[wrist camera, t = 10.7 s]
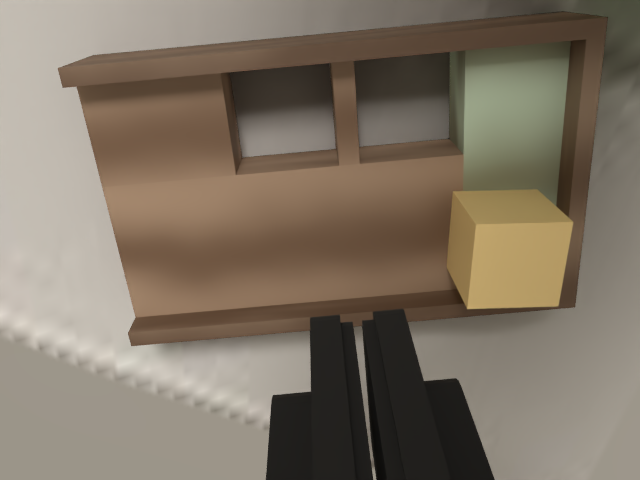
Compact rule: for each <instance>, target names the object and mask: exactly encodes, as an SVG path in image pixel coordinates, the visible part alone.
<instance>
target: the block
mask: <svg viewBox="0 0 640 480" xmlns="http://www.w3.org/2000/svg"><path fill="white" fill-rule="evenodd" d="M572 227H573V221H572V220H571V219H570V218H569V217H567V216H566V215H565V214H564V213H563V212H562V211H561V210H560V209H559V208H557V207H556V206H555V205H554V204H553V203H552V202H551V201H550V200H549V199H547V198H546V197H545V196H544V195H543V194H542V193H541V192H540V191H539V190H537V189H531V190H491V191H453V195H452V207H451V219H450V232H449V244H448V256H447V269H448V271H449V273H450V275H451V277H452V279H453V281H454V283H455V285H456V287H457V289H458V291H459V293H460V295H461V297H462V299H463V301H464V303H465V305H466V307H467V309H487V308H522V307H557V306H559V300H560V295H561V289H562V283H563V278H564V272H565V267H566V261H567V255H568V250H569V244H570V239H571V233H572Z"/></svg>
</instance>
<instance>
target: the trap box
mask: <svg viewBox="0 0 640 480" xmlns="http://www.w3.org/2000/svg"><path fill="white" fill-rule="evenodd" d="M607 20H608V17H603V16H595V15H587V14H579V13H571V12H552V13H542V14H531V15H520V16H509V17H499V18H488V19H477V20H467V21H456V22H445V23H434V24H424V25H413V26H402V27H391V28H381V29H370V30H359V31H348V32H338V33H327V34H316V35H306V36H295V37H284V38H273V39H263V40H252V41H241V42H230V43H220V44H209V45H198V46H187V47H177V48H166V49H155V50H144V51H134V52H123V53H112V54H102V55H93V56H90V57H87V58H84V59H82V60H79V61H76V62H74V63H71V64H68V65H65V66H63V67H60V68H58V71H59V75H60V79H61V83H62V86H63V88H65V87H76V86H77V90H78V93H79V97H80V101H81V105H82V109H83V113H84V117H85V121H86V125H87V129H88V133H89V137H90V140H91V144H92V148H93V152H94V156H95V160H96V164H97V168H98V172H99V176H100V180H101V183H102V187H103V191H104V195H105V199H106V203H107V207H108V211H109V215H110V219H111V223H112V227H113V230H114V234H115V238H116V242H117V246H118V250H119V254H120V258H121V262H122V266H123V270H124V273H125V277H126V281H127V285H128V289H129V293H130V297H131V301H132V305H133V309H134V313H135V317H136V318H135V320H134V322H133V324H132V326H131V328H130V330H129V332H128V335H129V339H130V342H131V346H137V345H149V344H160V343H172V342H183V341H195V340H206V339H217V338H229V337H240V336H252V335H263V334H275V333H286V332H297V331H309V330H310V317H319V316H330V315H340V322H353V327H355V326H362V320H373V311H382V310H393V309H404V312H405V315H406V319H407V322H412V321H423V320H435V319H446V318H458V317H469V316H480V315H492V314H503V313H515V312H526V311H538V310H549V309H560V308H572V307H575V303H576V294H577V285H578V276H579V268H580V259H581V250H582V241H583V232H584V223H585V215H586V206H587V197H588V188H589V179H590V170H591V162H592V153H593V144H594V135H595V126H596V118H597V109H598V100H599V91H600V82H601V73H602V65H603V56H604V47H605V38H606V29H607ZM443 52H450V107H449V139H441V140H430V141H419V142H408V143H397V144H386V145H375V146H364V147H359V139H358V123H357V106H356V89H355V72H354V61H357V60H368V59H379V58H389V57H400V56H411V55H422V54H433V53H443ZM325 63H330V77H331V90H332V103H333V116H334V129H335V142H336V149H331V150H320V151H309V152H298V153H287V154H276V155H265V156H254V157H243V158H242V154H241V147H240V140H239V134H238V127H237V120H236V113H235V106H234V99H233V93H232V86H231V79H230V72H238V71H249V70H260V69H271V68H281V67H292V66H303V65H314V64H325ZM531 189H537V190H539V191H540V192H541V193H542V194H543V195H544V196H545V197H546V198H547V199H549V200H550V201H551V202H552V203H553V204H554V205H555V206H556V207H557V208H559V209H560V210H561V211H562V212H563V213H564V214H565V215H566V216H567V217H569V218H570V219H571V220H572V221H573V227H572V233H571V239H570V244H569V250H568V255H567V261H566V267H565V272H564V278H563V283H562V289H561V295H560V300H559V306H557V307H522V308H487V309H467V307H466V305H465V303H464V301H463V299H462V297H461V295H460V293H459V291H458V289H457V287H456V285H455V283H454V281H453V279H452V277H451V275H450V273H449V271H448V269H447V256H448V244H449V232H450V219H451V207H452V195H453V191H491V190H531Z"/></svg>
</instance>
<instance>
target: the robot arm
mask: <svg viewBox="0 0 640 480" xmlns="http://www.w3.org/2000/svg"><path fill="white" fill-rule="evenodd" d="M362 329H363V342H364V355H365V368H366V380H367V393H368V406H369V419H370V432H371V442H372V450H373V457H374V465H375V472H376V479H377V480H494V477H493V474H492V471H491V468H490V466H489V463H488V460H487V457H486V454H485V452H484V449H483V446H482V443H481V440H480V438H479V435H478V432H477V429H476V427H475V424H474V421H473V418H472V415H471V413H470V410H469V407H468V404H467V401H466V399H465V396H464V393H463V390H462V387H461V385H460V383H459V381H458V380H457V379H456V378H455V379H444V380H433V381H424V380H423V377H422V373H421V370H420V366H419V362H418V359H417V355H416V351H415V348H414V344H413V341H412V337H411V333H410V330H409V326H408V322H407V319H406V315H405V312H404V309H393V310H382V311H373V320H362ZM310 353H311V392H303V393H293V394H282V395H273V397H272V404H271V416H270V430H269V445H268V460H267V473H266V480H373V475H372V467H371V459H370V452H369V444H368V436H367V429H366V421H365V413H364V406H363V398H362V390H361V382H360V375H359V367H358V359H357V352H356V344H355V336H354V329H353V322H340V315H330V316H319V317H310Z"/></svg>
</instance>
